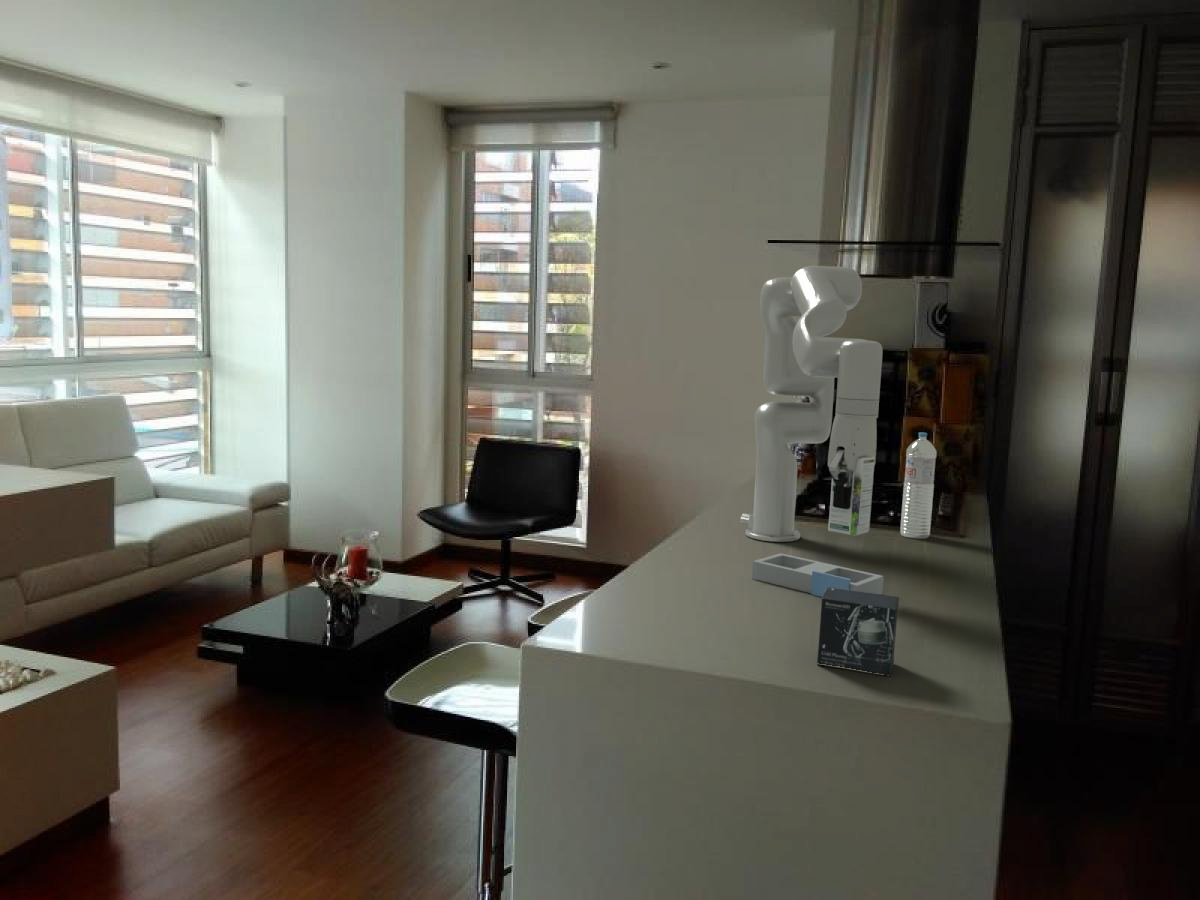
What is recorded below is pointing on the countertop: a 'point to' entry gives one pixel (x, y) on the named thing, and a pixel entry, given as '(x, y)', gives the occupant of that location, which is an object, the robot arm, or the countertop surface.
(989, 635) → the countertop surface
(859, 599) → the box
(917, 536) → the water bottle
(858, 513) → the syrup box
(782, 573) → the gray rectangular open frame
